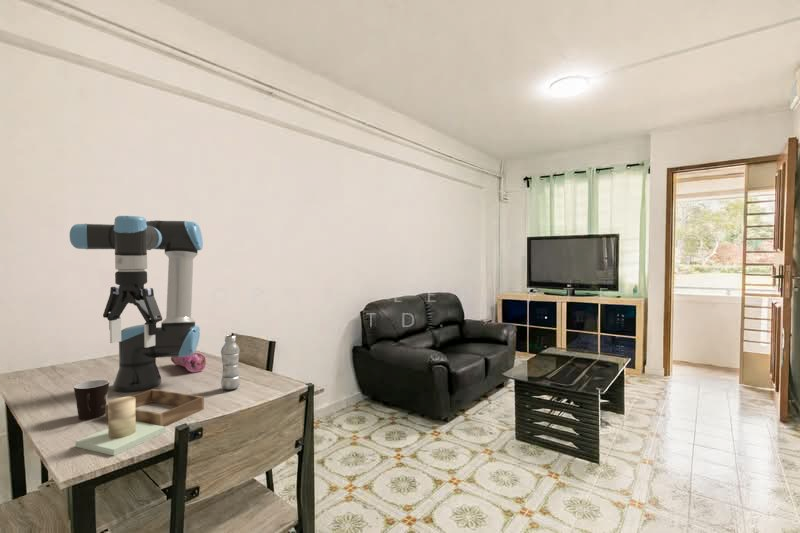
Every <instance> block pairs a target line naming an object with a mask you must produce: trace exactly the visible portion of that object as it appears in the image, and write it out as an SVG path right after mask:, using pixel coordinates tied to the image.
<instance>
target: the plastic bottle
mask: <svg viewBox="0 0 800 533" xmlns="http://www.w3.org/2000/svg"><path fill="white" fill-rule="evenodd" d="M236 341H237V337H236V335H235V334H229V335H225V337H224V344H223V346H222V347H221V348H220V354H221V360H222V362H221V363H222V373H221V374H222V375H221V379H220V380H221V382H220V384H221V385H220V386H221V388H222V389H223V390H226V391H227V390H228V391H229V390H230V391H231V390H235V389H238V388H239V387H240V385H241V384H240V383H241V377H240V374H239V371H240V370H239V358H240V351H241V350H240V346H239V345H238V343H236Z"/></svg>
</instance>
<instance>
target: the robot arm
mask: <svg viewBox="0 0 800 533" xmlns="http://www.w3.org/2000/svg"><path fill="white" fill-rule="evenodd" d="M202 235H203V234H202V231H201V228H200V226H199V224H198V223H197V222H196V221H187V220H146V218H145V217H144V216H137V215H136V216H135V215H119V216H116V217H115V218H114V224H105V223H104V224H103V223H102V224H101V223H100V224H98V223H77V224H76V223H75V224H74V225H72V227H71V228H70V230H69V241H70V244H71V245H72V246H73V247H74V248H75V249H78V250H114V256H115V257H114V259H115V260H114V263H115V264H114V265H115V267H114V268H115V270H116V272H114V273H115V274H114V276H115V278H114V279H115V281H114V283H115V285H117V286H111V287H110V291H109V296H108V299H107V302H106V305H105V308H104V311H103V314H102V318H104V319H107V320H108V325H109V327H108V328H109V343H110V344H115V343H118V362H119V363H118V364H119V367H118V371H117V373H116V377H115V379H114V382H113V391H115V392H119V393H130V392H131V393H132V392H139V391H144V390H145V391H146V390H150V389H153V388H156V387H157V386H159V385H160V384H161V383H162V376H161V373H160V370H159V368H158V365H157V359H158V358H171V357H182V356H190V355H192V354H193V353H194V352H196V350H197V348H198V345H199V341H200V336H201V335H200V334H201V332H200V330H201V329H200V326H198V325H196V320H194V319H193V318H192V300H193V299H192V298H193V272H194V271H193V270H194V268H193V267H194V258H196V257H197V256H198V251H201V250H202V249H203V244H204V243H203V241H204V240H203V236H202ZM151 250H164V255H166V256H167V257H168V267H167V289H166V290H167V295H166V311H165V312H166V316H165V319H164V320H163V316H162V314H161V311H160V308H159V306H158V303H157V299H156V298H155V294H154V292H155V291H154V288H153V287H146V288H145V284H147V283H148V272H147V271H146V270H147V269H148V255H147V254H148V252H147V251H151ZM128 304H133V305H134V306H135V307H136V308H137V309H138V311H139V313H140V314H141V316H142V317H143V319H144V321H145V323H142V324H138V325H137V324H136V325H132V326H128V327H125V328H123V329H122V319H121V315H122V314H123V312H124V310H125V309H126V307H127V305H128ZM158 322H159V323H160V322H161V325H160V326H159V327H157V323H158Z"/></svg>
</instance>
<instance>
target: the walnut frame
mask: <svg viewBox="0 0 800 533" xmlns="http://www.w3.org/2000/svg"><path fill="white" fill-rule="evenodd" d="M129 397H135V398H136V421H137V422H143V423H148V424H153V425H158V426H164V427H165V428H166V427H168V426H169V425H172V424H174V423H176V422H178V421H180V420H183V419H184V418H188V417H189V416H193V415H194V414H196V413H198V412H200V411H202V410H204V409H205V397H204V396H201V395H195V394H194V395H193V394H187V393H181V392H175V391H168V390H161V389H155V388H150V389H147V390H145V391H143V392H140V393H136V394H135V395H131V396H130V395H129ZM152 402H153V403H157V404H164V405H171V406H176V407H173V408H170V409H168V410H166V411H163V412H154V411H148V410H144V409H138V408H139V407H142V406H144V405H147V404H150V403H152ZM104 416H105V419H108V403H106V405H105V415H104Z"/></svg>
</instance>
